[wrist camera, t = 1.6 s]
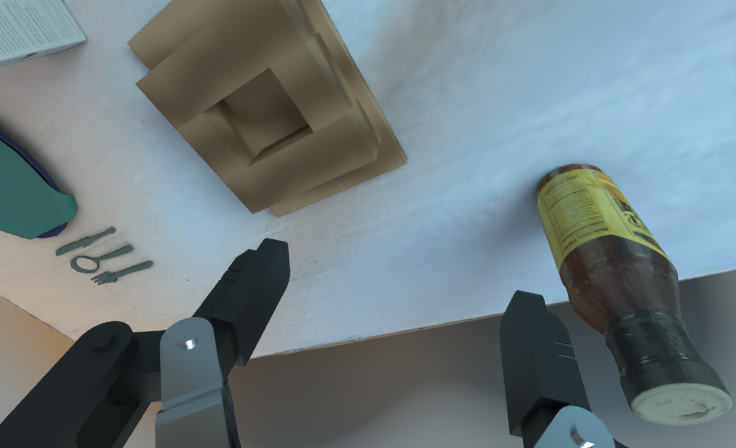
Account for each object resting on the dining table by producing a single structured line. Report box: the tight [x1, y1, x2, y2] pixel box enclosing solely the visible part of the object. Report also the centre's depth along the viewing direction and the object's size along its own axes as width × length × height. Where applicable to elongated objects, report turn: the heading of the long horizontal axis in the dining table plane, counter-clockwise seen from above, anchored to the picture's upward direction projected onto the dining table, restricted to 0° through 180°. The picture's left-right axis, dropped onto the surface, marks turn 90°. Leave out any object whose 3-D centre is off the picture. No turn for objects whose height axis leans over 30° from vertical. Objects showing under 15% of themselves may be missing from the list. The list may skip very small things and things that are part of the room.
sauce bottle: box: [536, 164, 732, 425], centre depth 24 cm, size 7×6×20 cm
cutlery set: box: [0, 132, 153, 285], centre depth 45 cm, size 20×30×2 cm, turn 27°
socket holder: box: [127, 0, 407, 217], centre depth 30 cm, size 20×16×4 cm
